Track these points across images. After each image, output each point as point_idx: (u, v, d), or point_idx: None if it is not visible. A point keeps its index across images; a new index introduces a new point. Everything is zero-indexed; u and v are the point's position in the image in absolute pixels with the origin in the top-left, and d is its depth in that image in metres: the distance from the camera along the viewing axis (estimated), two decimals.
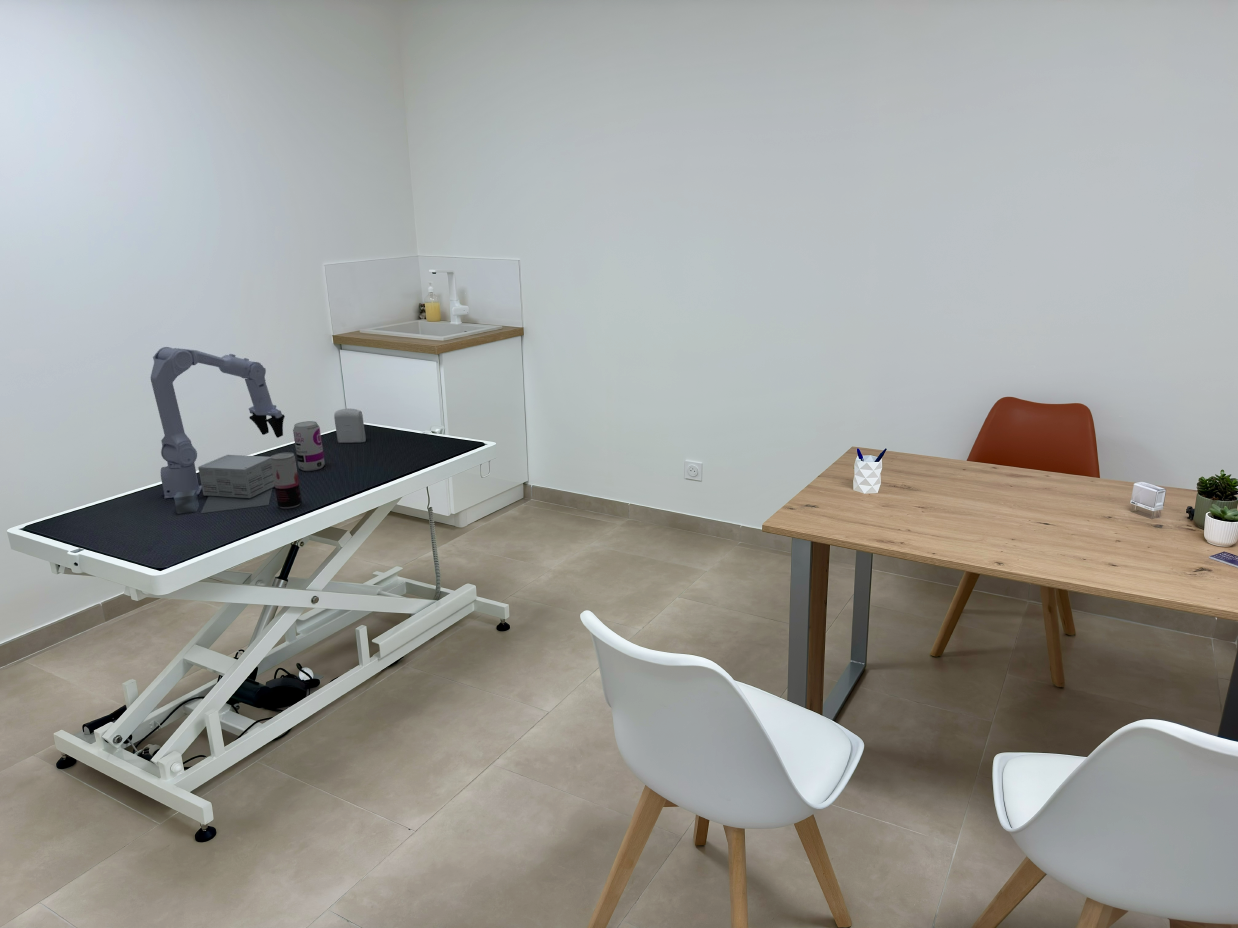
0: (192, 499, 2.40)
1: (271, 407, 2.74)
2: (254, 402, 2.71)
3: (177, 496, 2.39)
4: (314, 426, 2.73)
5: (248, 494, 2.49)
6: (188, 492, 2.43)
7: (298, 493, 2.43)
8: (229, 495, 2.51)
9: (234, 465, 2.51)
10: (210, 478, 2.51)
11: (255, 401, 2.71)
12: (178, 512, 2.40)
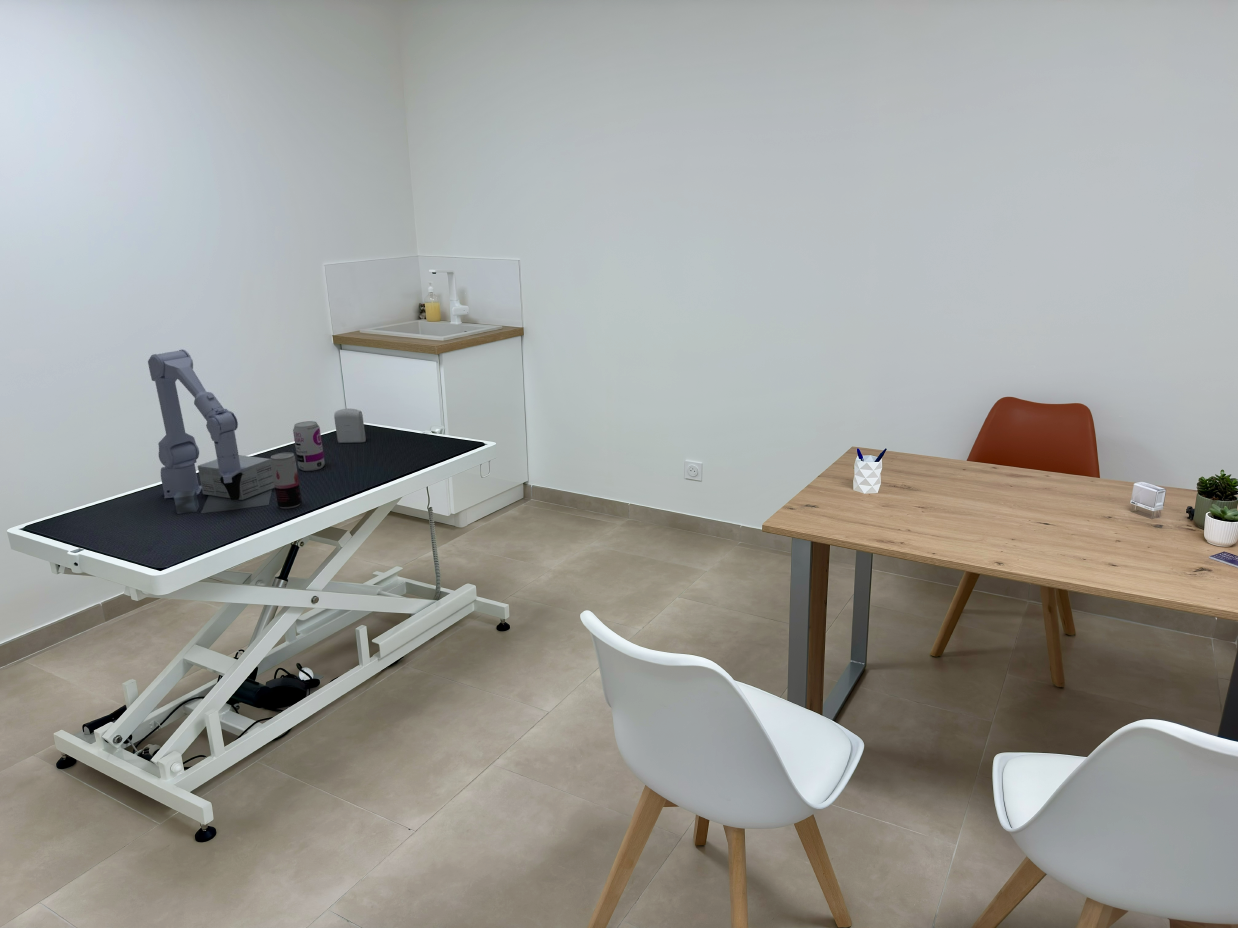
0: (192, 499, 2.40)
1: (232, 469, 2.40)
2: (217, 458, 2.40)
3: (177, 496, 2.39)
4: (314, 426, 2.73)
5: (240, 496, 2.47)
6: (188, 492, 2.43)
7: (298, 493, 2.43)
8: (224, 495, 2.51)
9: None
10: (208, 478, 2.51)
11: (217, 457, 2.39)
12: (178, 512, 2.40)
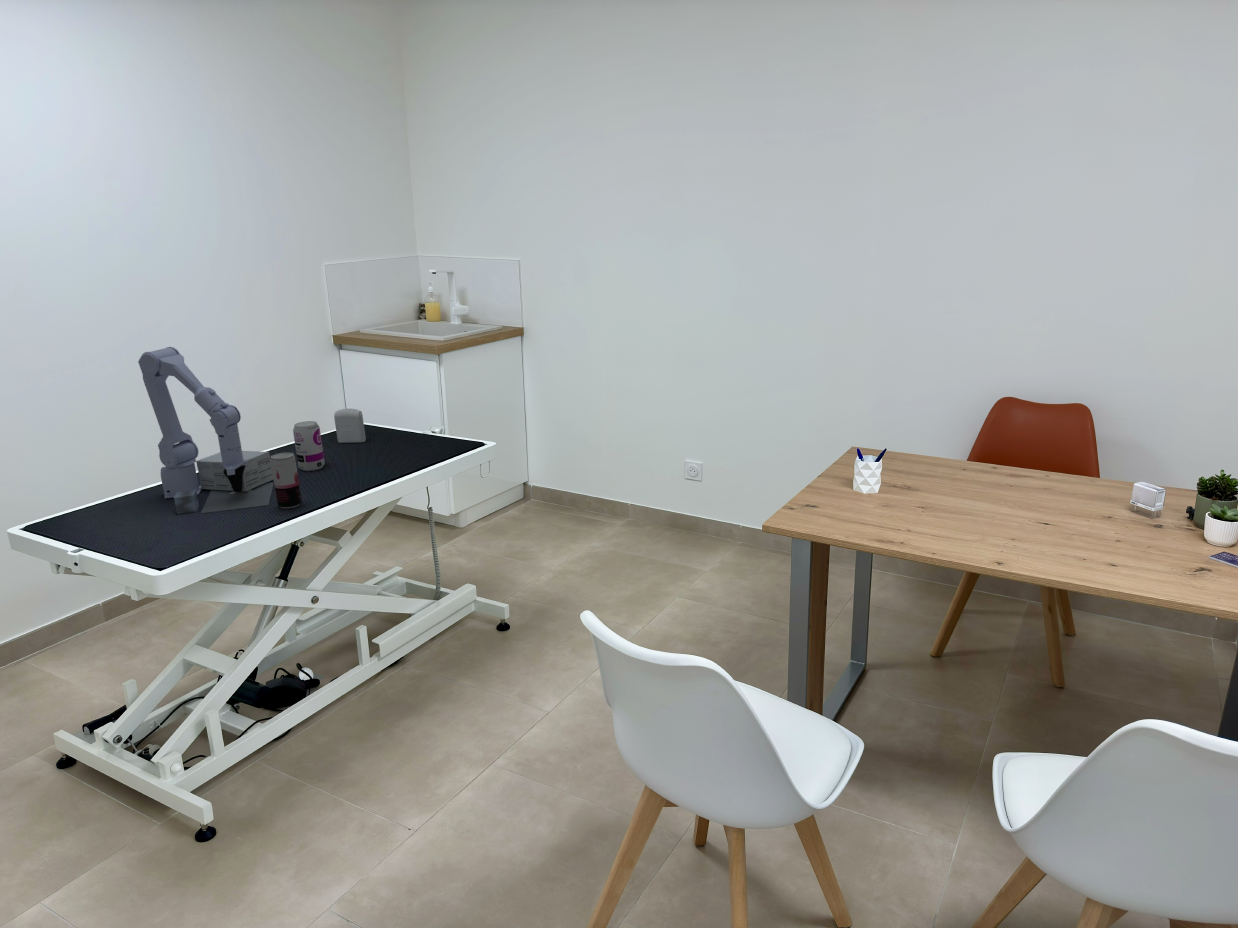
0: (192, 499, 2.40)
1: (235, 461, 2.47)
2: (220, 451, 2.47)
3: (177, 496, 2.39)
4: (314, 426, 2.73)
5: (244, 487, 2.54)
6: (188, 492, 2.43)
7: (298, 493, 2.43)
8: (226, 488, 2.56)
9: None
10: (207, 472, 2.57)
11: (220, 450, 2.46)
12: (178, 512, 2.40)
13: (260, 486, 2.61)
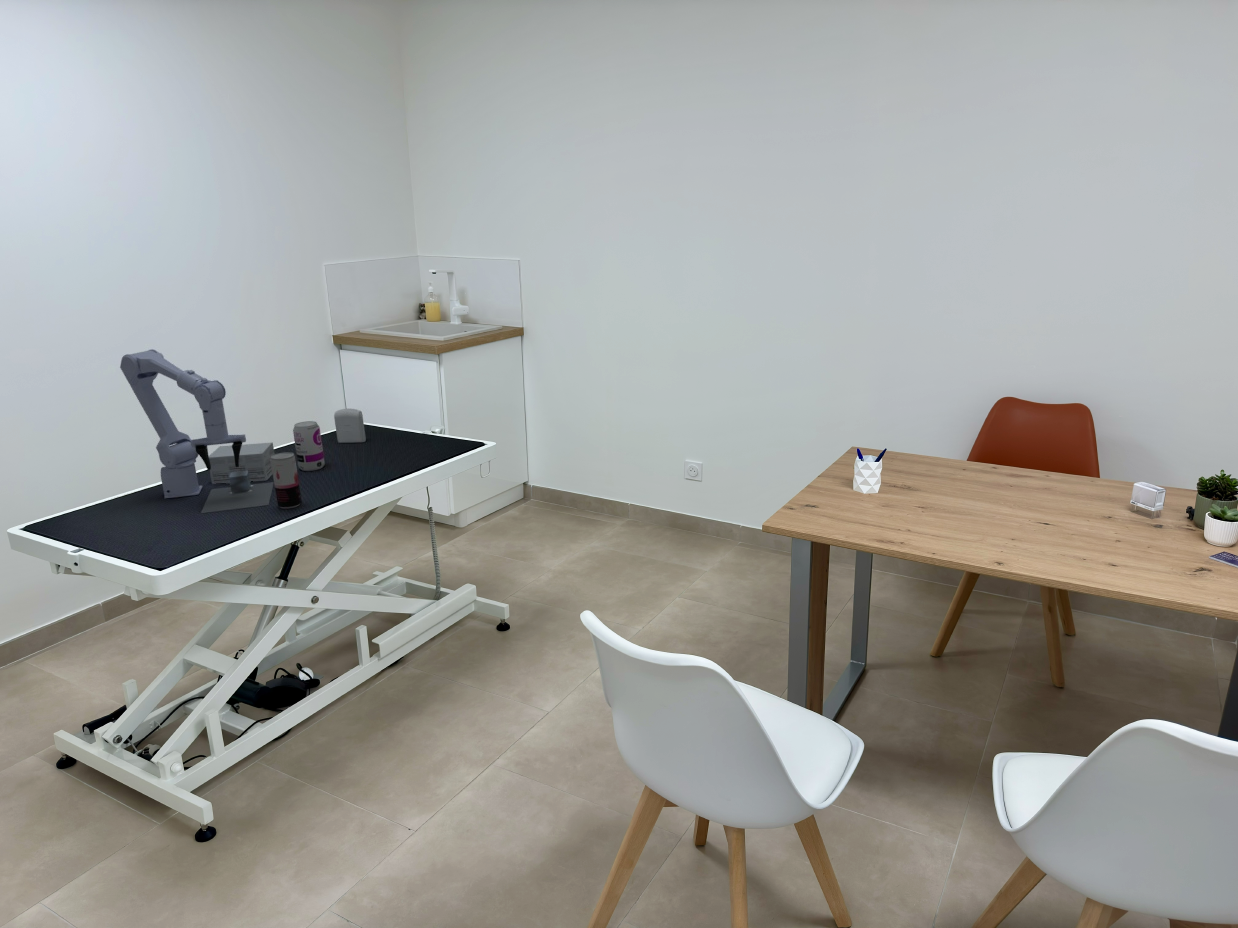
0: (246, 479, 2.55)
1: (207, 437, 2.45)
2: None
3: (231, 476, 2.55)
4: (314, 426, 2.73)
5: (265, 477, 2.66)
6: (241, 472, 2.58)
7: (298, 493, 2.43)
8: None
9: (244, 451, 2.66)
10: (221, 467, 2.63)
11: None
12: (232, 491, 2.55)
13: (260, 486, 2.61)
